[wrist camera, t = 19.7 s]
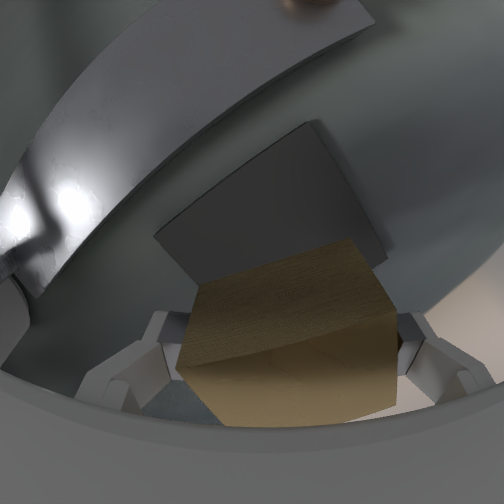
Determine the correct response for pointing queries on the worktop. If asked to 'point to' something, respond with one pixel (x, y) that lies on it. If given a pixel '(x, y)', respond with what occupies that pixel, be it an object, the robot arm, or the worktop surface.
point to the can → (12, 317)
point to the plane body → (150, 114)
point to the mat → (270, 213)
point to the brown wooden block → (293, 342)
